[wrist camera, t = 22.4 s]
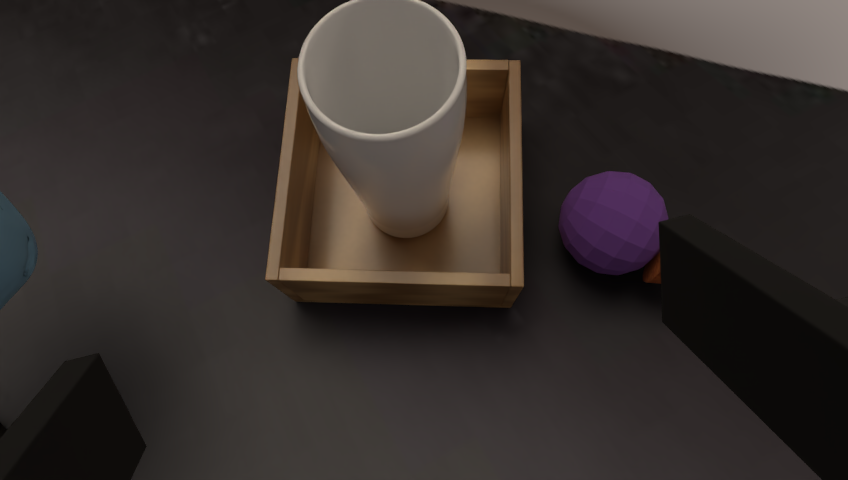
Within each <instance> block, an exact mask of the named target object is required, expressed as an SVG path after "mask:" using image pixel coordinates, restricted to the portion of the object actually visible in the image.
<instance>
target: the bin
mask: <svg viewBox="0 0 848 480" xmlns="http://www.w3.org/2000/svg"><path fill="white" fill-rule="evenodd" d="M298 60H299V58H292V63H291V71H290V80H289V88H288V96H287V104H286V112H285V121H284V129H283V137H282V145H281V154H280V162H279V170H278V178H277V187H276V195H275V203H274V211H273V219H272V228H271V236H270V244H269V252H268V261H267V269H266V277H265V280H266V281H268V282H269V283H270V284H272V285H273V286H275V287H276V288H277V289H279V290H280V291H281V292H283V293H284V294H286V295H287V296H288V297H290V298H291V299H293V300H294V301H296V302H326V303H360V304H394V305H429V306H463V307H497V308H511V307H512V305H513V303H514V302H515V300H516V298H517V297H518V295H519V294H520V292H521V290H522V289H523V287H524V249H523V186H522V122H521V62H520V60H509V62H508V60H466V63H467V105H466V117H465V125H464V130H463V135H462V140H461V145H460V149H459V153H458V157H457V161H456V165H455V169H454V174H453V178H452V182H451V187H450V191H449V204H448V208H447V211H446V214H445V216H444V217H443V219H442V220H441V222H440V223H439V224H438V225H437V226H436V227H435V228H434V229H433V230H431V231H430V232H428V233H426V234H424V235H422V236H419V237H414V238H398V237H394V236H391V235H388V234H386V233H385V232H383V231H381V230H380V229H379V228H378V227H377V226H376V225H375V224H374V223H373V222H372V221H371V219H370V217H369V216H368V214H367V211H366V209H365V207H364V205H363V204H362V202H361V201H360V200H359V198H358V197H357V195H356V194H355V192H354V191H353V189H352V188H351V187H350V185H349V184H348V182H347V181H346V180H345V178H344V177H343V175H342V174H341V172H340V171H339V170H338V168H337V167H336V165H335V164H334V162H333V161H332V159H331V158H330V156H329V155H328V153H327V151H326V150H325V148H324V146H323V144H322V142H321V140H320V139H319V137H318V135H317V133H316V130H315V128H314V126H313V123H312V121H311V119H310V116H309V113H308V111H307V108H306V105H305V103H304V100H303V97H302V95H301V92H300V88H299V84H298V76H297V68H298Z"/></svg>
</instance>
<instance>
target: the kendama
mask: <svg viewBox="0 0 848 480" xmlns="http://www.w3.org/2000/svg"><path fill="white" fill-rule="evenodd" d="M664 220H668V215H667V211H666V208H665V204H664V200H663V198H662V197H661V196H660V194H659V193H658V192H657V191H656V190H655V188H654V187H653V186H652V185H651V183H649V182H647V181H645V180H643V179H641V178H640V177H638V176H636V175H634V174H632V173H625V172H614V171H607V172H604V173H600V174H597V175H593V176H590V177H587V178H585V179H584V180H583V181H581V182H580V183H579V184H578V185H576V186H575V187H574V188H573V189H571V190H570V192H569V193H568V195H567V196H566V198H565V200H564V202H563V204H562V206H561V210H560V218H559V226H558V228H559V231H560V234H561V238H562V241H563V245H564V246H565V248H566V249H567V250H568V251H569V252H570V254H571V255H572V256H573V257H574V258H575V260H576V261H577V262H578V263H579V264H581V265H583V266H585V267H587V268H589V269H591V270H592V271H594V272H596V273H602V274H611V275H621V274H624V273H628V272H632V271H635V270H638V269H640V268H642V267H644V266H645V268H644V271H643V281H645V282H648V283H660V284H661V273H660V247H659V222H660V221H664Z"/></svg>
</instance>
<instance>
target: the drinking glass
mask: <svg viewBox="0 0 848 480" xmlns="http://www.w3.org/2000/svg"><path fill="white" fill-rule="evenodd" d="M297 76H298V84H299V88H300V92H301V95H302V97H303V100H304V103H305V105H306V108H307V111H308V113H309V116H310V119H311V121H312V123H313V126H314V128H315V130H316V133H317V135H318V137H319V139H320V140H321V142H322V144H323V146H324V148H325V150H326V151H327V153H328V155H329V156H330V158H331V159H332V161H333V162H334V164H335V165H336V167H337V168H338V170H339V171H340V172H341V174H342V175H343V177H344V178H345V180H346V181H347V182H348V184H349V185H350V187H351V188H352V189H353V191H354V192H355V194H356V195H357V197H358V198H359V200H360V201H361V202H362V204H363V205H364V207H365V209H366V211H367V214H368V216H369V217H370V219H371V221H372V222H373V223H374V224H375V225H376V226H377V227H378V228H379V229H380V230H381V231H383V232H385V233H386V234H388V235H391V236H394V237H398V238H414V237H419V236H422V235H424V234H426V233H428V232H430V231H431V230H433V229H434V228H435V227H436V226H437V225H438V224H439V223H440V222H441V220H442V219H443V217H444V216H445V214H446V211H447V208H448V204H449V191H450V187H451V182H452V178H453V174H454V169H455V165H456V161H457V157H458V153H459V149H460V145H461V140H462V135H463V130H464V125H465V117H466V105H467V63H466V53H465V49H464V45H463V43H462V40H461V38H460V36H459V34H458V32H457V30H456V29H455V27H454V26H453V25H452V23H451V22H450V21H449V20H448V19H447V18H446V17H445V16H444V15H443V14H442V13H441V12H439V11H438V10H437V9H435V8H434V7H432V6H430V5H429V4H427V3H425V2H422V1H420V0H351V1H348V2H346V3H344V4H342V5H340V6H338V7H336V8H335V9H333V10H332V11H330V12H329V13H328V14H326V15H325V16H324V17H323V18H322V19H321V20H320V21H319V22H318V23H317V24H316V25H315V26H314V27H313V29H312V30H311V31H310V33H309V34H308V36H307V38H306V40H305V41H304V44H303V46H302V48H301V51H300V55H299V60H298V68H297Z"/></svg>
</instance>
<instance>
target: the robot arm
mask: <svg viewBox="0 0 848 480" xmlns="http://www.w3.org/2000/svg"><path fill="white" fill-rule="evenodd" d="M659 247H660V273H661V299H662V322H663V323H664V324H665V325H666V326H667V327H668V328H669V329H670V330H671V331H672V332H673V333H674V334H675V335H676V336H677V337H678V338H679V339H680V340H681V341H682V342H683V343H684V344H685V345H686V346H687V347H688V348H689V349H690V350H691V351H692V352H693V353H694V354H695V355H696V356H697V357H698V358H699V359H700V360H701V361H702V362H703V363H704V364H706V365H707V366H708V367H709V368H710V369H711V370H712V371H713V372H714V373H715V374H716V375H717V376H718V377H719V378H720V379H721V380H722V381H723V382H724V383H725V384H726V385H727V386H728V387H729V388H730V389H731V390H732V391H733V392H734V393H735V394H736V395H737V396H738V397H739V398H740V399H741V400H742V401H743V402H744V403H745V404H746V405H747V406H748V407H749V408H750V409H751V410H752V411H753V412H754V413H755V414H756V415H757V416H758V417H759V418H760V419H761V420H762V421H763V422H764V423H765V424H766V425H767V426H768V427H769V428H770V429H771V430H772V431H773V432H774V433H775V434H776V435H777V436H778V437H779V438H780V439H781V440H782V441H783V442H784V443H785V444H787V445H788V446H789V447H790V448H791V449H792V450H793V451H794V452H795V453H796V454H797V455H798V456H799V457H800V458H801V459H802V460H803V461H804V462H805V463H806V464H807V465H808V466H809V467H810V468H811V469H812V470H813V471H814V472H815V473H816V474H817V475H818V476H819V477H820V478H821V479H822V480H848V297H845V298H841V299H836V300H835V299H833V298H832V297H830V296H828V295H827V294H825V293H823V292H821V291H820V290H818V289H816V288H815V287H813V286H811V285H810V284H808V283H806V282H804V281H803V280H801V279H799V278H798V277H796V276H794V275H792V274H791V273H789V272H787V271H786V270H784V269H782V268H781V267H779V266H777V265H775V264H774V263H772V262H770V261H769V260H767V259H765V258H764V257H762V256H760V255H758V254H757V253H755V252H753V251H752V250H750V249H748V248H746V247H745V246H743V245H741V244H740V243H738V242H736V241H735V240H733V239H731V238H729V237H728V236H726V235H724V234H723V233H721V232H719V231H718V230H716V229H714V228H712V227H711V226H709V225H707V224H706V223H704V222H702V221H700V220H699V219H697V218H695V217H694V216H692V215H690V214H689V215H685V216H681V217H677V218H672V219H668V220H664V221H660V222H659ZM37 255H38V249H37V244H36V240H35V237H34V234H33V232H32V230H31V229H30V227H29V225H28V224H27V222H26V221H25V219H24V218H23V217H22V215H21V214H20V213H19V212H18V210H17V209H16V208H15V207H14V206H13V205H12V203H11V202H10V201H9V200H8V199H7V198H6V197H5V196H4V195H3V194H2V193H1V192H0V310H1V308H2V307H3V306H4V305H5V304H6V303H7V302H8V301H9V300H10V299H11V298H12V297H13V296H14V294H15V293H16V292H17V291H18V290H19V289H20V288H21V287H22V286H23V285H24V284H25V282H26V281H27V280H28V279H29V278H30V276H31V274H32V272H33V271H34V268H35V266H36V262H37ZM145 448H146V444H145V442H144V441H143V439H142V437H141V435H140V433H139V431H138V429H137V427H136V425H135V423H134V421H133V419H132V417H131V415H130V413H129V411H128V409H127V407H126V405H125V403H124V401H123V399H122V397H121V395H120V394H119V392H118V390H117V388H116V386H115V384H114V382H113V380H112V378H111V376H110V374H109V372H108V370H107V368H106V366H105V364H104V362H103V360H102V358H101V356H100V354H99V353H98V354H93V355H89V356H85V357H81V358H76V359H72V360H68V361H65V362H64V363H63V364H62V365H61V367H60V368H59V369H58V370H57V371H56V373H55V374H54V375H53V376H52V377H51V379H50V380H49V381H48V382H47V383H46V385H45V386H44V387H43V388H42V389H41V390H40V392H39V393H38V394H37V395H36V396H35V398H34V399H33V400H32V401H31V402H30V404H29V405H28V406H27V407H26V408H25V410H24V411H23V412H22V413H21V414H20V416H19V417H18V418H17V419H16V420H15V422H14V423H13V424H12V425H11V426H10V427H9V429H8V430H7V431H6V430H5V429H4V427H3V426H2V425H1V423H0V480H130V479H131V477H132V475H133V473H134V471H135V469H136V467H137V465H138V463H139V461H140V459H141V456H142V454H143V452H144V450H145Z"/></svg>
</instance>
